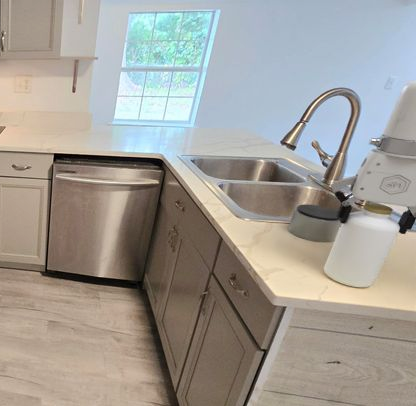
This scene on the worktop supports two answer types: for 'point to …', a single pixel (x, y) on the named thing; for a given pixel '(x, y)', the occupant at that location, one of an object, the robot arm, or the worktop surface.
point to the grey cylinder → (314, 223)
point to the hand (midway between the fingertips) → (370, 225)
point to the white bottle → (362, 246)
